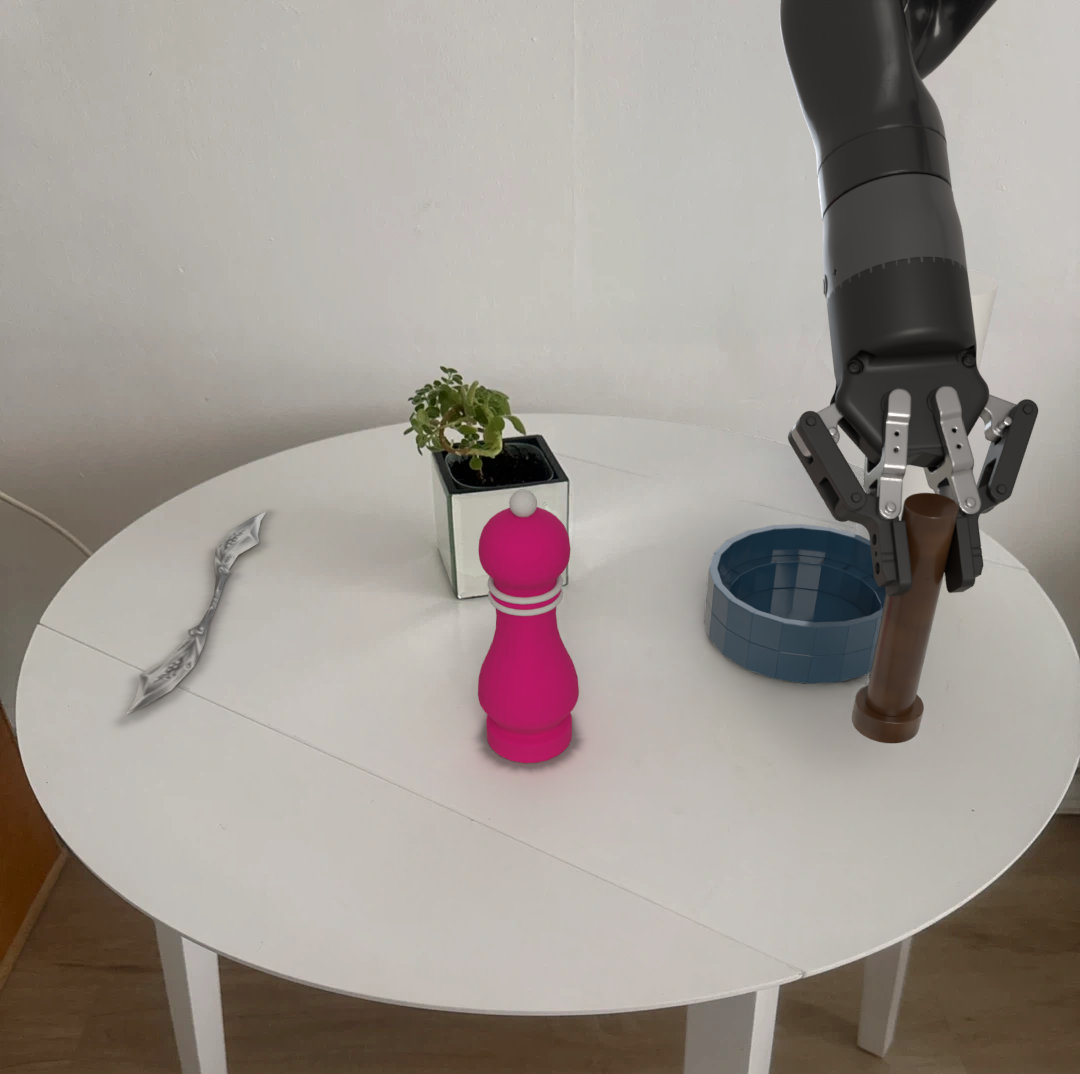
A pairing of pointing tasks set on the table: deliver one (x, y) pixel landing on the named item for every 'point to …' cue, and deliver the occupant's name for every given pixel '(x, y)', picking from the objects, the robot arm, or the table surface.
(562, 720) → the pepper mill
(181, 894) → the table surface
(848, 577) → the bowl
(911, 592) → the brown flanged cylinder
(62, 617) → the table surface
